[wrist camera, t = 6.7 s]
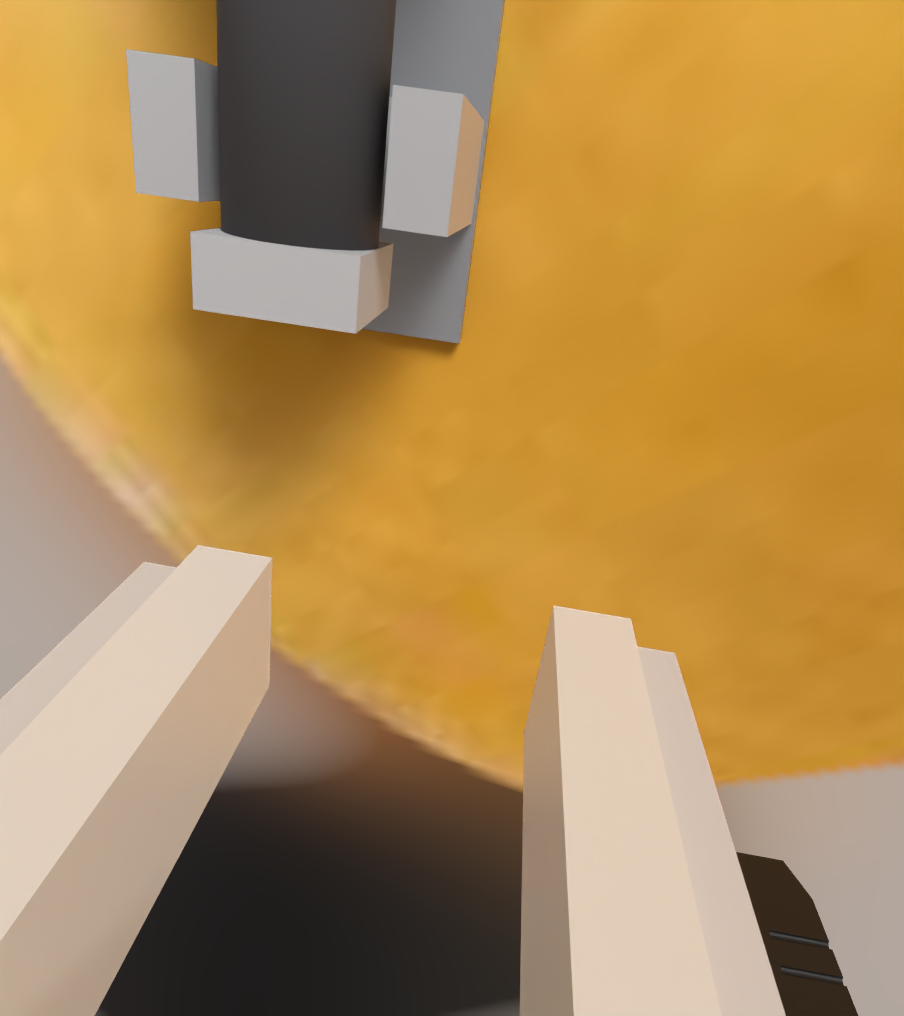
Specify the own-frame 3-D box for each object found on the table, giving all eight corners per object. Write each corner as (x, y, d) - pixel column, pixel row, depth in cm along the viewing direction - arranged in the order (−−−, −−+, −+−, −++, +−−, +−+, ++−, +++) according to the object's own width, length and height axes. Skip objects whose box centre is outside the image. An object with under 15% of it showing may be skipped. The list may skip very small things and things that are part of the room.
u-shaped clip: (197, 544, 13) (-726, 1524, 3) (630, 618, 12) (929, 1928, 3) (202, 674, 14) (-458, 1639, 5) (594, 743, 14) (726, 1932, 4)
